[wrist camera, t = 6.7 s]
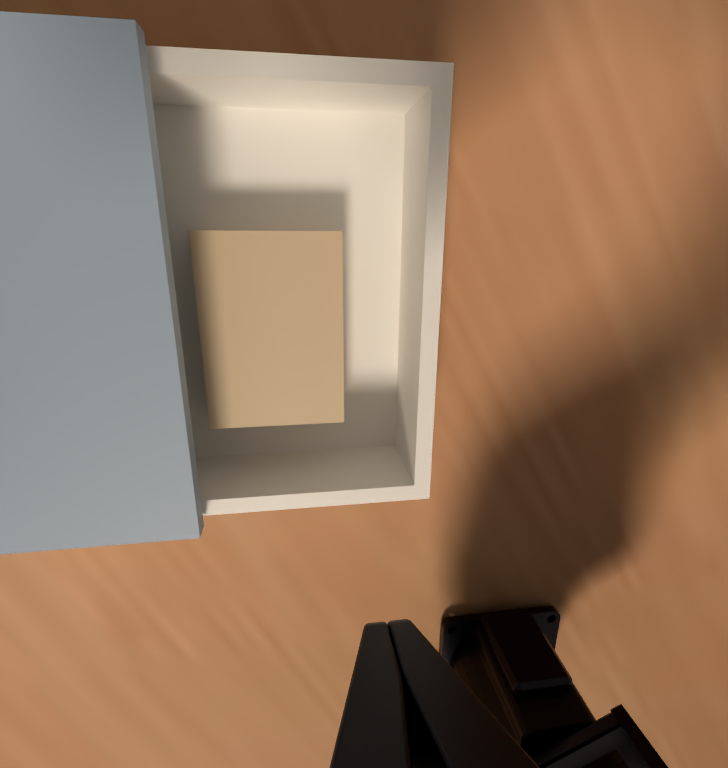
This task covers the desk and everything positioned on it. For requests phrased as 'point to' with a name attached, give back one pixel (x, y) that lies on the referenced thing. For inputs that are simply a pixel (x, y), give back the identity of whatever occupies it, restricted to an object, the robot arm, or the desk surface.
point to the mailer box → (305, 269)
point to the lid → (87, 297)
